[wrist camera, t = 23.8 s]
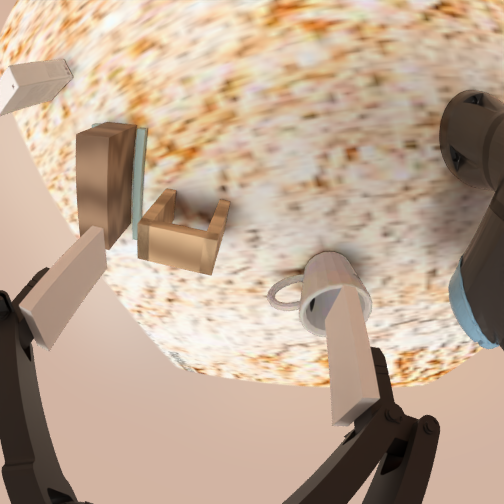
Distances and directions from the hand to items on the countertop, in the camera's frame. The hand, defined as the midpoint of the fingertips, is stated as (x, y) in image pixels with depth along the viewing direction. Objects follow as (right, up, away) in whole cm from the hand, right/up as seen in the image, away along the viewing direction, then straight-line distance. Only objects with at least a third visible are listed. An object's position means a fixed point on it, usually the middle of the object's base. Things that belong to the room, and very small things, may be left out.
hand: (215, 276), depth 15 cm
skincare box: (-28, +28, +16) cm, 42 cm away
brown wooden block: (-18, +13, +25) cm, 33 cm away
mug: (+12, -2, +32) cm, 34 cm away
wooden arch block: (-6, +7, +27) cm, 29 cm away
